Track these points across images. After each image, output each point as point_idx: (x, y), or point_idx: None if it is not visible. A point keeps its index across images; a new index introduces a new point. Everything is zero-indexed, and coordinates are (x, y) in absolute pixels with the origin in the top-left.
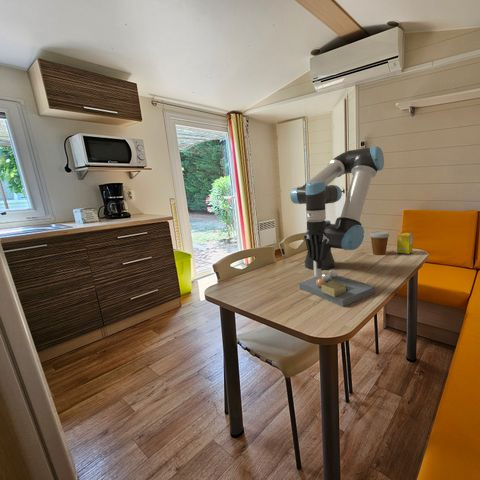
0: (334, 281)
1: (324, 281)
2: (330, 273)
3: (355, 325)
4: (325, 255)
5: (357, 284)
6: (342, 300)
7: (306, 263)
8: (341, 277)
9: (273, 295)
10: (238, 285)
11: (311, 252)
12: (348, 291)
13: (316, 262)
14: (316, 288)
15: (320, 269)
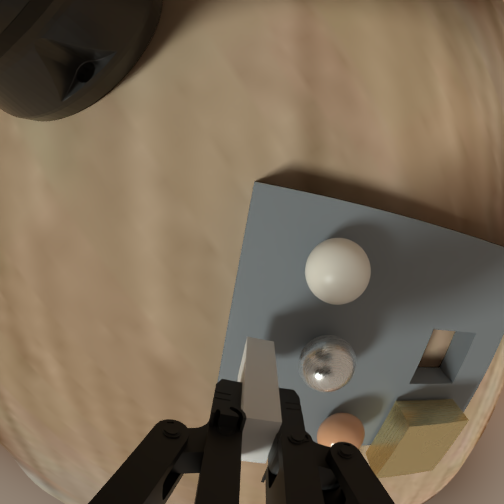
0: (420, 429)
1: (363, 434)
2: (332, 303)
3: (468, 453)
4: (373, 489)
5: (478, 283)
6: None
7: (12, 114)
8: (378, 231)
9: (187, 484)
10: (43, 456)
11: (139, 464)
12: (457, 378)
13: (266, 452)
14: None
15: (275, 371)
